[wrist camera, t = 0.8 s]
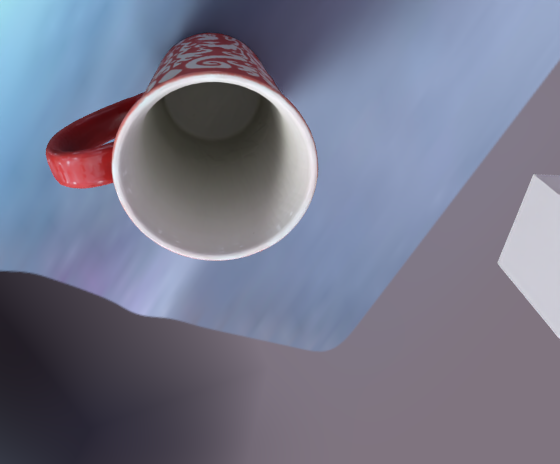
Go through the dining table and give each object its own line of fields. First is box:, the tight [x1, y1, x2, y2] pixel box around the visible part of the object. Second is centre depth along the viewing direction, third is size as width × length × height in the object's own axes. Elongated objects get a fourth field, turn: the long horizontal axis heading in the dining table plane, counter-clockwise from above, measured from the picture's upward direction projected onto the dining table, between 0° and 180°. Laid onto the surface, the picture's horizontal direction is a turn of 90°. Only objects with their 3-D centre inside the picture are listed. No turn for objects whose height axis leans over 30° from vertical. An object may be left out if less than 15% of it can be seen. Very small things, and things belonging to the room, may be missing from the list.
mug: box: [46, 33, 318, 261], centre depth 28 cm, size 13×9×14 cm
